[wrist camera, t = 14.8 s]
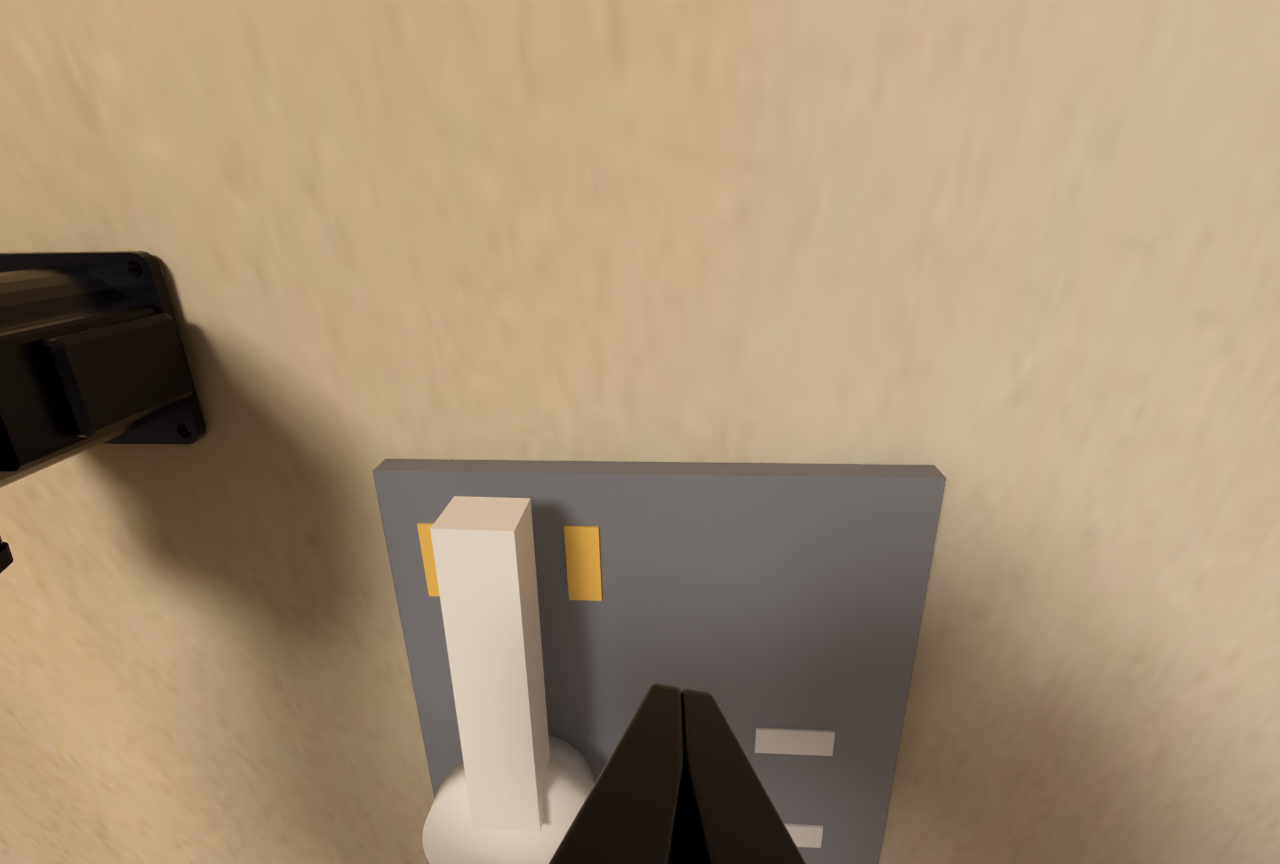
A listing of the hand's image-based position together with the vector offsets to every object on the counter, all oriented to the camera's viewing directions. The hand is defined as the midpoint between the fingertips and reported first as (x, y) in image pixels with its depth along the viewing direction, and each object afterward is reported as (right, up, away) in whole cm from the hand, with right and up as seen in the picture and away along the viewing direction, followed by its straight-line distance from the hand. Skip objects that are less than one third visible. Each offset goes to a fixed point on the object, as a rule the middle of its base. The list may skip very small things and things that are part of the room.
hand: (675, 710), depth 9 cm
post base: (0, -6, +16) cm, 17 cm away
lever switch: (-5, -6, +14) cm, 16 cm away
